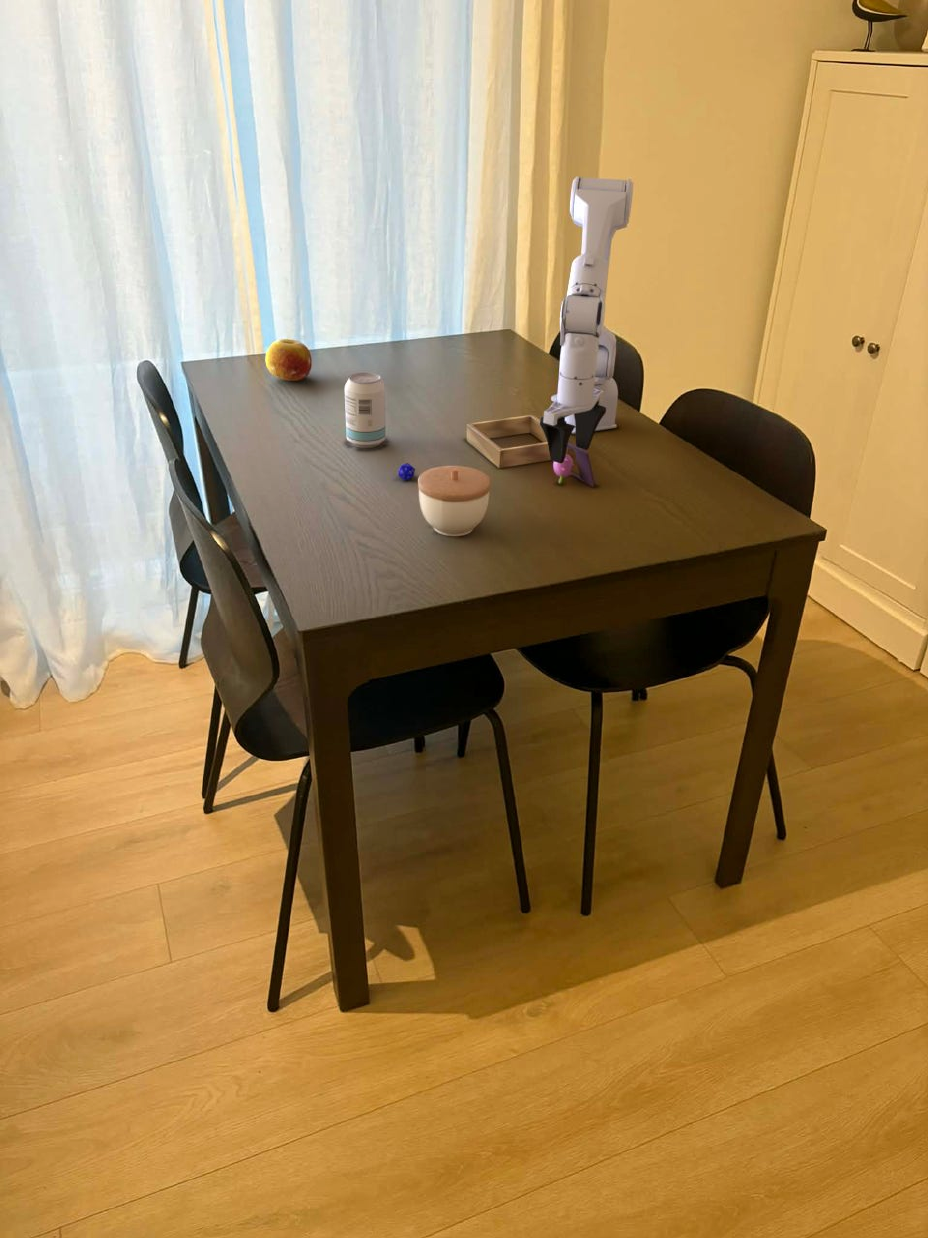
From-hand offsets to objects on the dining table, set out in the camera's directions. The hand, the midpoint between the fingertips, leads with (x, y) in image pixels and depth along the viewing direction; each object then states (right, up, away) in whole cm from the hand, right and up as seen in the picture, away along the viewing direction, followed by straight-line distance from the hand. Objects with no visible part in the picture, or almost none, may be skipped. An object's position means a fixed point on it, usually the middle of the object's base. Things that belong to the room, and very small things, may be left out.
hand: (569, 454), depth 162 cm
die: (-27, -4, +1) cm, 27 cm away
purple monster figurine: (0, -4, +2) cm, 5 cm away
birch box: (-8, +3, +13) cm, 16 cm away
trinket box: (-19, -13, -14) cm, 27 cm away
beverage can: (-35, +4, +14) cm, 38 cm away
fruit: (-54, +22, +42) cm, 71 cm away
